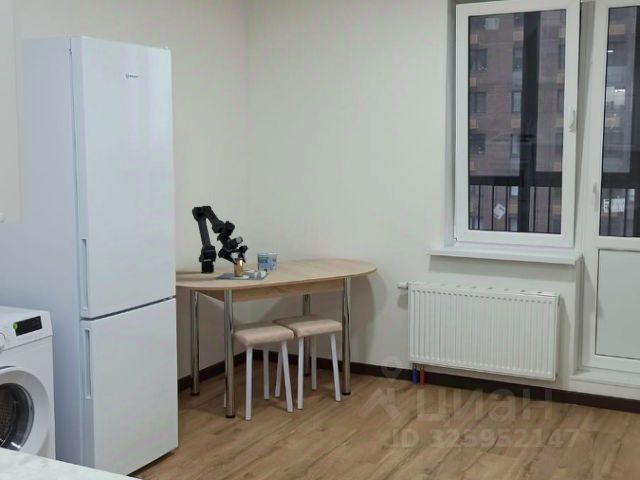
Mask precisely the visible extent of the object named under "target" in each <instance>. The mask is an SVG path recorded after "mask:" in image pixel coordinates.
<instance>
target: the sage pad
mask: <svg viewBox="0 0 640 480" xmlns="http://www.w3.org/2000/svg"><path fill="white" fill-rule="evenodd" d="M229 279H233V280H232V281H244V280H243V279H249V276H246V275H244V276H241V277H234V276H229Z"/></svg>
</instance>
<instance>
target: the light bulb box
mask: <svg viewBox="0 0 640 480" xmlns="http://www.w3.org/2000/svg"><path fill="white" fill-rule="evenodd" d="M257 270H261V271H266V273H269V272H278V253H276V252H258V253H257Z"/></svg>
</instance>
